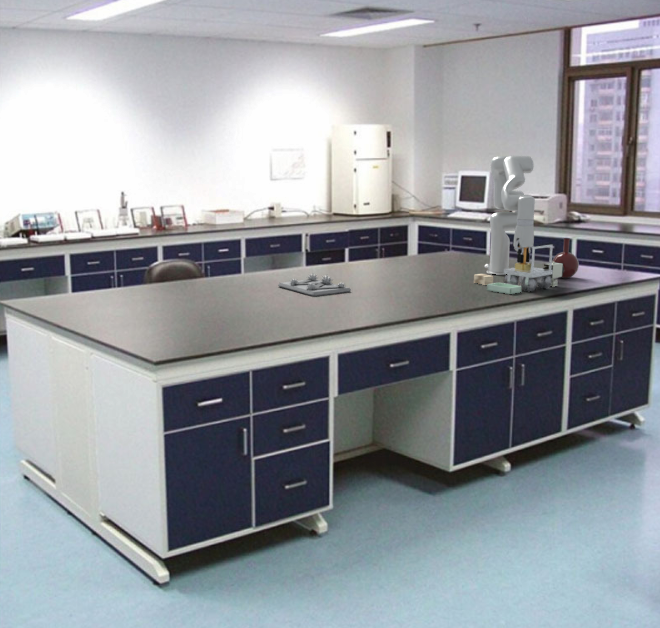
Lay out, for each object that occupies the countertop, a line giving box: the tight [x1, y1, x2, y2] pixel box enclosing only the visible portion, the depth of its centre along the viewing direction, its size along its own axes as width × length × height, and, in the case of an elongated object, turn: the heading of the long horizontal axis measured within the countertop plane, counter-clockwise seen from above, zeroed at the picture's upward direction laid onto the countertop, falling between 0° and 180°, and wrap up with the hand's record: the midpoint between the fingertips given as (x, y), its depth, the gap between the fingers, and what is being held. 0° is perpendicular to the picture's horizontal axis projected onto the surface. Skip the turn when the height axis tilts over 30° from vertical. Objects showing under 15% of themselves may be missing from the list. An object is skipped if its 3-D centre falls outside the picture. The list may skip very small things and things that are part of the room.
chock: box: [473, 273, 494, 286], centre depth 423 cm, size 8×5×4 cm, turn 32°
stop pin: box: [520, 247, 528, 264], centre depth 412 cm, size 3×3×11 cm
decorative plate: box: [277, 272, 352, 297], centre depth 405 cm, size 30×22×7 cm
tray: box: [486, 281, 523, 295], centre depth 404 cm, size 13×8×3 cm, turn 42°
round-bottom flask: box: [552, 237, 580, 279], centre depth 441 cm, size 13×13×20 cm
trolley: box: [503, 244, 554, 293], centre depth 411 cm, size 17×16×21 cm
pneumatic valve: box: [542, 261, 564, 288], centre depth 418 cm, size 6×12×12 cm, turn 131°
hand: (523, 261), depth 412 cm, fingers open, 3 cm apart
